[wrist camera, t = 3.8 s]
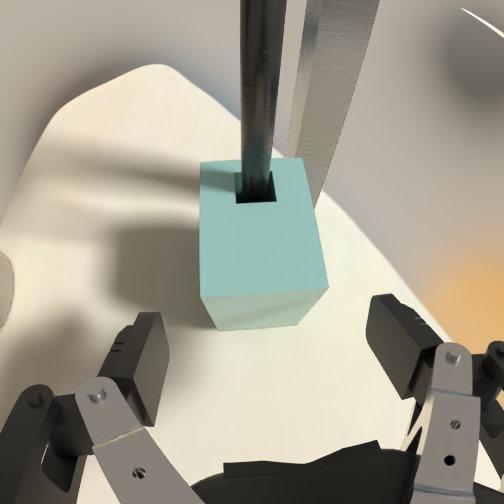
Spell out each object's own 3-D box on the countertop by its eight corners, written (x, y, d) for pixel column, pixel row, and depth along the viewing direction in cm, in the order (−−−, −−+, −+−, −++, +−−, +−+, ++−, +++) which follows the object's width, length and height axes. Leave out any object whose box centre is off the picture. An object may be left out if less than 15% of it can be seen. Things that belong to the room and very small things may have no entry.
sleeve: (296, 325, 19) (328, 287, 11) (218, 331, 18) (200, 297, 11) (284, 233, 21) (301, 157, 14) (214, 237, 21) (200, 162, 14)
